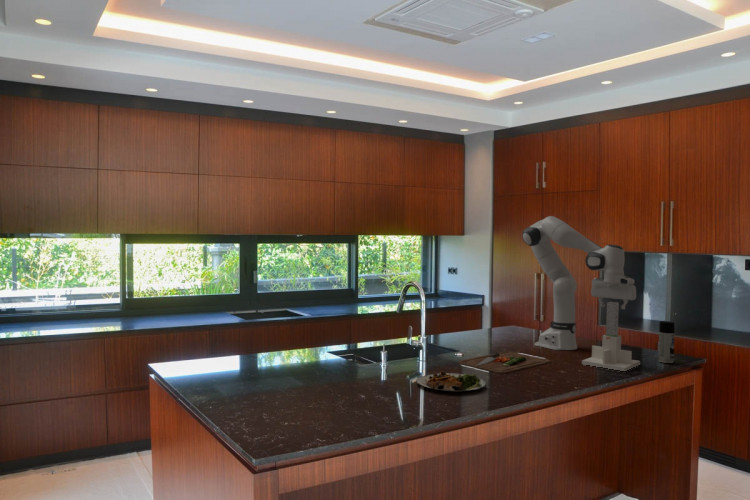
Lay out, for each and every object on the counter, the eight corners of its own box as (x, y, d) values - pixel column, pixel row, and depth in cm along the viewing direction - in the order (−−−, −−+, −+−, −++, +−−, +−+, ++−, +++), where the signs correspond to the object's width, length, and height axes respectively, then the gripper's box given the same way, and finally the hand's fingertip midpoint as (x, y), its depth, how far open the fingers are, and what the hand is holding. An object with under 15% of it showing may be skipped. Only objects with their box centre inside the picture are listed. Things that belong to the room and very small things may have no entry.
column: (605, 340, 273) (606, 302, 272) (609, 339, 276) (610, 301, 275) (614, 341, 270) (615, 303, 270) (617, 340, 273) (618, 302, 273)
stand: (581, 364, 273) (582, 335, 273) (598, 358, 288) (599, 330, 287) (624, 372, 260) (625, 341, 259) (640, 365, 274) (641, 336, 274)
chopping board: (498, 376, 251) (498, 369, 251) (452, 365, 271) (452, 358, 271) (555, 362, 280) (555, 356, 280) (510, 352, 300) (510, 347, 300)
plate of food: (499, 386, 233) (499, 371, 233) (457, 399, 214) (457, 383, 213) (445, 375, 253) (445, 362, 253) (402, 386, 234) (402, 371, 234)
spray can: (672, 365, 276) (673, 323, 275) (656, 362, 280) (658, 322, 279) (674, 362, 281) (676, 321, 280) (659, 360, 285) (660, 320, 284)
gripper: (589, 277, 277) (588, 306, 277) (633, 281, 263) (632, 311, 264) (594, 277, 282) (593, 305, 282) (638, 280, 268) (636, 309, 268)
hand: (612, 308), depth 273 cm, fingers open, 8 cm apart
